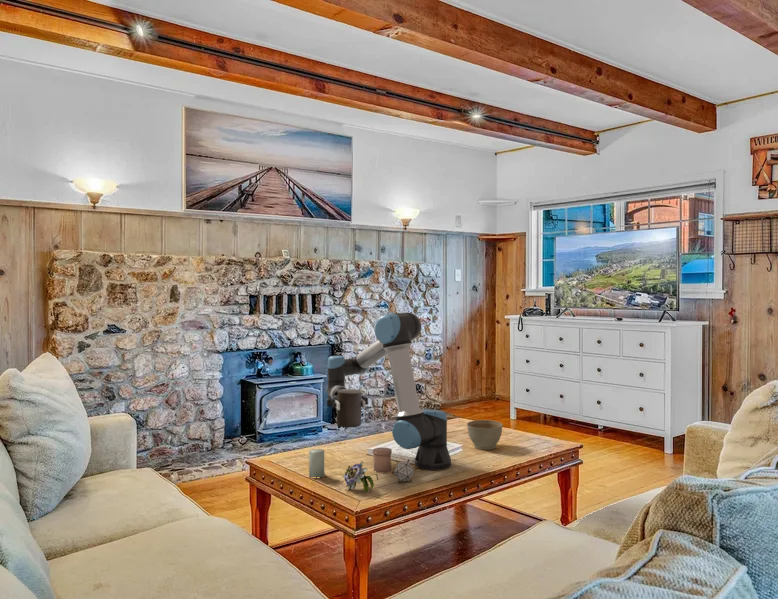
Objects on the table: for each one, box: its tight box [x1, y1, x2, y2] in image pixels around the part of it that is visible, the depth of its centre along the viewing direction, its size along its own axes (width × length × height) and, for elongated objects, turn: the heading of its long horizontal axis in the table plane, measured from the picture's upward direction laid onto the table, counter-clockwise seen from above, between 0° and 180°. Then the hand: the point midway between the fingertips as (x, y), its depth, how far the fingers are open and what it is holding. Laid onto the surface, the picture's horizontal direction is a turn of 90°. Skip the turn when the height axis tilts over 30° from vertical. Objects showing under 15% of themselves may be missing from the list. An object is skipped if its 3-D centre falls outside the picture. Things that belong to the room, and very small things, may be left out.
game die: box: [391, 459, 417, 484], centre depth 231 cm, size 9×8×10 cm
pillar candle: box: [336, 388, 363, 429], centre depth 241 cm, size 10×10×15 cm
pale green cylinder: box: [308, 448, 326, 478], centre depth 238 cm, size 6×6×10 cm
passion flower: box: [342, 460, 379, 493], centre depth 223 cm, size 11×11×12 cm
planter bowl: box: [466, 419, 503, 451], centre depth 277 cm, size 16×16×11 cm
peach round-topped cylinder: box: [372, 447, 393, 473], centre depth 245 cm, size 8×8×8 cm
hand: (351, 405), depth 237 cm, fingers closed on pillar candle, 9 cm apart
